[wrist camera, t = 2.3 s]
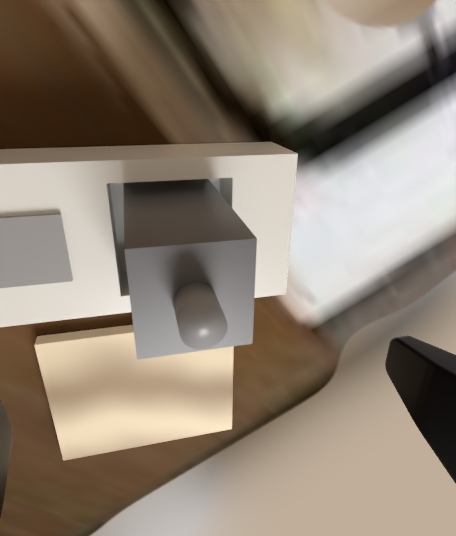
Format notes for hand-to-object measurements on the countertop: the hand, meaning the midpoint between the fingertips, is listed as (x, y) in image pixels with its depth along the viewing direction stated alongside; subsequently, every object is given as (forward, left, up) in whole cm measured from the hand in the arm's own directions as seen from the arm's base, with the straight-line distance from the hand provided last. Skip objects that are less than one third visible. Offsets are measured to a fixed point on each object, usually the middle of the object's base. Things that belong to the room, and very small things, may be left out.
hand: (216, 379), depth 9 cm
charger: (0, 0, -12) cm, 12 cm away
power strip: (0, +3, -13) cm, 13 cm away
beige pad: (-11, +2, -13) cm, 17 cm away
